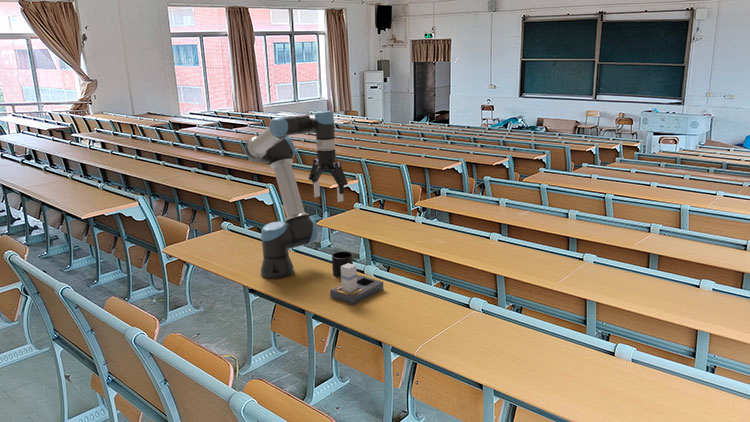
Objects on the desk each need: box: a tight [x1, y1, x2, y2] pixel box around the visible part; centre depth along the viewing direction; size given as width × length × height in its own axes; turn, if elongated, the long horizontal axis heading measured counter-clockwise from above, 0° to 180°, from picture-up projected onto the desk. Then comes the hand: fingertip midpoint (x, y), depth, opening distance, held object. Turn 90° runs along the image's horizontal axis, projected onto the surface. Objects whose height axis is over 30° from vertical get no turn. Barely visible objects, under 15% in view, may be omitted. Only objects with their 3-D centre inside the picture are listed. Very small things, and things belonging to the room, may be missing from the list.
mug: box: [331, 251, 354, 278], centre depth 252 cm, size 9×12×9 cm
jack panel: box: [330, 274, 384, 306], centre depth 233 cm, size 13×19×4 cm
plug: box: [340, 263, 358, 294], centre depth 228 cm, size 5×5×14 cm
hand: (328, 199), depth 233 cm, fingers open, 13 cm apart
